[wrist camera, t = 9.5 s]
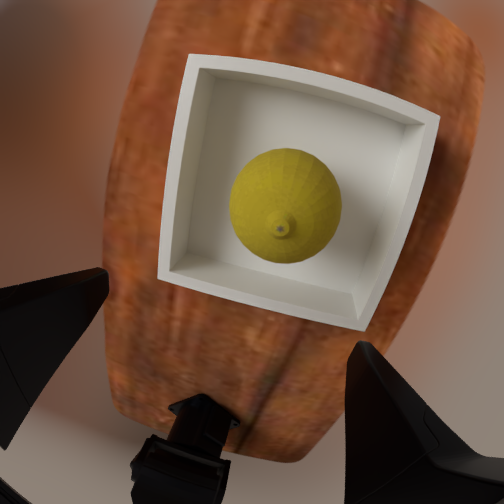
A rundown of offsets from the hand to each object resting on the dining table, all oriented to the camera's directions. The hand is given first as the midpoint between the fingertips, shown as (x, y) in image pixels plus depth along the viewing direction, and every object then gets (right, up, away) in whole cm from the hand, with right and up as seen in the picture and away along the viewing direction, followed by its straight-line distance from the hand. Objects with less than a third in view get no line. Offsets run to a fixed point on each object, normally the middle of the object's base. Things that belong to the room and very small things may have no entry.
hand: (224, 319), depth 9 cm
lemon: (+3, +6, +9) cm, 11 cm away
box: (+3, +6, +9) cm, 12 cm away
